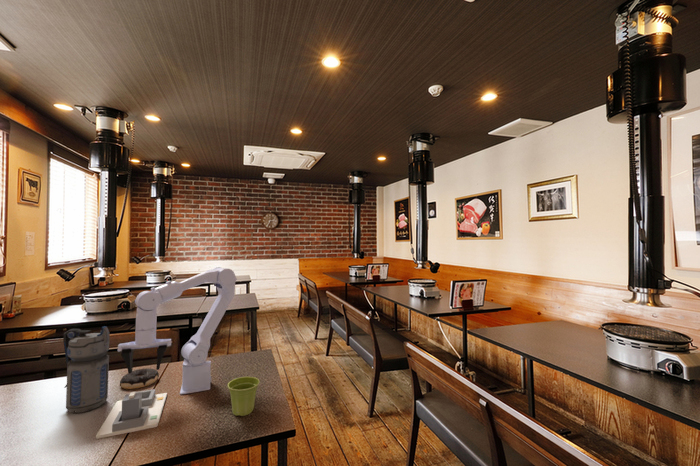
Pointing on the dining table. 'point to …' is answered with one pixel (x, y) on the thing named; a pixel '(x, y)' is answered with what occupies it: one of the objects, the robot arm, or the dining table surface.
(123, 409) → the plug
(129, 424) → the panel
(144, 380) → the donut
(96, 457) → the dining table surface
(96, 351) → the beverage bottle
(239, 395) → the plant pot
